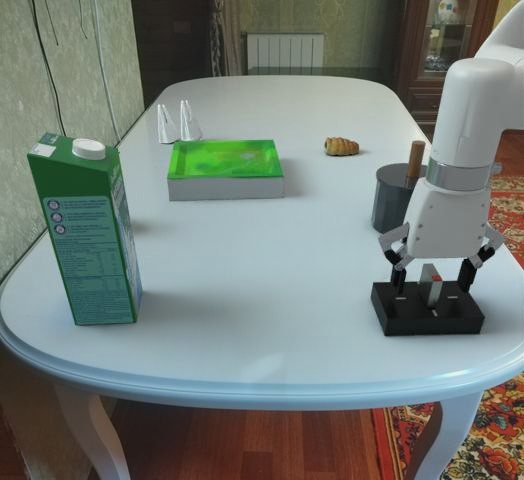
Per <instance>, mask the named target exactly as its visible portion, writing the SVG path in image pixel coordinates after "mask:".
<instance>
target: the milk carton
mask: <svg viewBox="0 0 524 480" xmlns="http://www.w3.org/2000/svg"><path fill="white" fill-rule="evenodd" d="M26 160H27V163H28V166H29V169H30V173H31V176H32V180H33V183H34V187H35V190H36V194H37V198H38V200H39V204H40V208H41V211H42V215H43V218H44V221H45V222H44V223H45V225H46V228H47V232H48V236H49V239H50V242H51V246H52V249H53V252H54V256H55V261H56V263H57V266H58V270H59V274H60V277H61V281H62V285H63V287H64V291H65V295H66V297H67V302H68V306H69V308H70V312H71V316H72V319H73V323H74V325H75V326H79V325H80V326H84V325H105V324H125V323H126V324H127V323H128V324H129V323H137V320H138V315H139V311H140V310H139V309H140V305H141V301H142V295H143V285H142V284H143V283H142V279H141V272H140V269H139V261H138V256H137V250H136V245H135V238H134V233H133V232H134V231H133V227H132V222H131V216H130V215H131V214H130V210H129V204H128V199H127V192H126V188H125V187H126V186H125V182H124V181H125V180H124V176H123V169H122V164H121V158H120V153H119V148H118V147H115V146H110V145H106V144H103V143H102V142H100V141H97V140H96V139H95V140H94V139H90V138H89V139H88V138H74V137H71V136H66V135H61V134H57V133H52V132H47V131H46V132H45V133H44V134H43V135H42V136H41V138H39V140H38V141H37V142H36V143H35V144H34V145H33V147H32V148H31V149H30V150H29V151H28V152H27V154H26Z"/></svg>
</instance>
